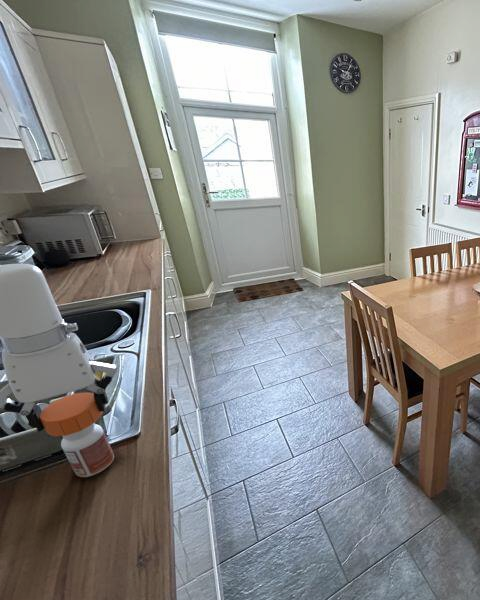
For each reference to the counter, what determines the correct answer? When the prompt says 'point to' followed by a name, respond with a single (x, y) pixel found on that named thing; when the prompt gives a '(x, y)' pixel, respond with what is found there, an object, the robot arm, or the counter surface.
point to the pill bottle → (88, 451)
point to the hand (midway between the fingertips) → (73, 416)
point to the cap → (70, 414)
